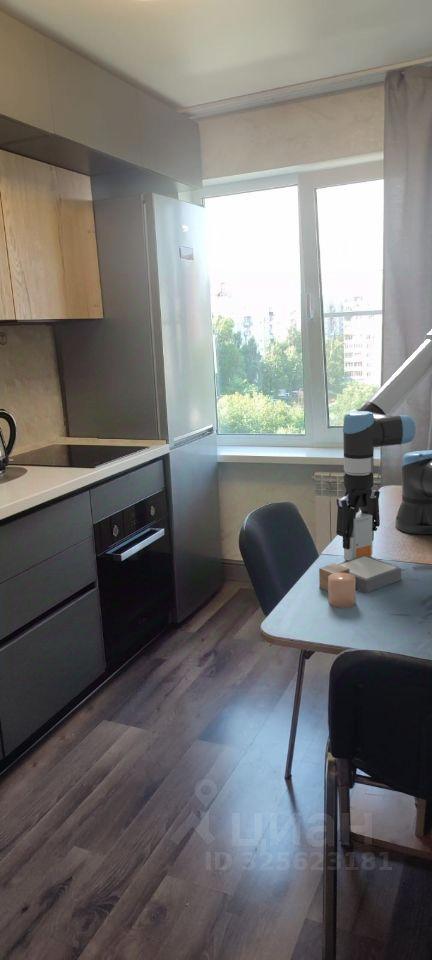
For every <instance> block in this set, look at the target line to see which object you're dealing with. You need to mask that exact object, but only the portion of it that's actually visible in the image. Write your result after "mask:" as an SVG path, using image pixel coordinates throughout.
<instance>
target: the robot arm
mask: <svg viewBox="0 0 432 960" xmlns="http://www.w3.org/2000/svg"><path fill="white" fill-rule="evenodd" d="M431 374H432V328H431V329H430V330H429V331H428V332H427V333H426V334H425V335H424V337H423V342H422V343H421V345H419V347H417V349H416V350H415V351H413V352H412V354H411V355H410V356H409V357H408V358H407V359H406V360H405V362H403V363H402V364H401V365H400V366H399V368H398V369H397V370H396V371H394V373H393V374H392V375H391V376H390V377H389V378H388V379H387V380H386V381H385V382H384V384H382V385H381V386H380V388H379V389H377V391H376V392H375V393H374V394H373V395H372V396H371V397H370V398H369V399H368V400H367V401H366V402H365V403H364V404H363V405H362V406H361V407H360V408H354V409H351V410H349V411H348V412H347V413H345V414H344V417H343V424H342V425H343V427H342V433H343V434H342V435H343V471H344V473H343V487H344V489H345V492H344V496H343V497H342V498H336V506H337V512H336V513H337V515H336V517H337V518H336V535H337V536H338V537H339V536H340V537H342V549H343V550H344V551H343V559H344V560H346V561H349V560H352V559H354V537H351V535H352V530H353V524H354V523H353V521H354V518H356V513H359V512H362V513H365V514H370V515H372V546H373V544H374V543H373V542H374V538H375V537H374V536H375V535H374V533H375V532H377V531H378V528H379V527H380V523H381V522H380V521H381V520H380V504H379V503H380V501H379V498H380V494H381V492H380V490H376V489H372V488H373V486H374V473H373V471H374V469H375V468H374V466H375V465H374V452H375V450H374V449H376V448H381V447H389V446H401V445H404V444H408V443H411V442H413V440H414V438H415V436H416V432H417V431H416V429H417V428H416V427H417V426H416V424H415V423H416V422H415V421H414V419H413V418H412V417H411V416H410V415H408V414H397V415H393V414H394V413H395V412H396V411H397V410H398V409H399V408H400V407H401V406H402V405H403V404H404V403H405V401H406V400H408V399H409V397H410V396H411V395H412V394H414V392H415V391H416V390H417V389H418V388H419V387H420V386H421V385H422V384H423V382H425V380H426V379H427V378H428V377H429V376H430V375H431ZM394 525H395V528H396V529H398V530H399V531H402V532H404V533H408V534H414V535H432V449H428V450H427V449H426V450H416V451H409V452H407V453H405V454H404V455H403V457H402V464H401V503H400V505H399V508H398V511H397V513H396V517H395V524H394Z"/></svg>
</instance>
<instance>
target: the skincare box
mask: <svg viewBox="0 0 432 960" xmlns="http://www.w3.org/2000/svg"><path fill="white" fill-rule="evenodd" d="M353 523H354V524H353V530H352V535H351V537H354V559H355V558H358V557H361V556H364V555H365V556H368V557H371V558H373V557H372V555H373V545H372V515H370V514H365V513H362V512H361V511H358V512H357V513H356V518H354V521H353Z"/></svg>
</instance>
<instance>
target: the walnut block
mask: <svg viewBox="0 0 432 960" xmlns="http://www.w3.org/2000/svg"><path fill="white" fill-rule="evenodd" d="M338 564H339V563H330V564H328V565H325V566H321V567H319V568H318V571H319V572H318V576H319V578H318V579H319V581H318V582H319V583H318V585H319V586H318V587H319V588H320V589H322V590H325V592H326V591H327V592H328V576H329V575H331V574H333V573H349V574H350V569H349V568H346V567H343V566H341V565H338Z"/></svg>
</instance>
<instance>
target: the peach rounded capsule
mask: <svg viewBox="0 0 432 960" xmlns="http://www.w3.org/2000/svg"><path fill="white" fill-rule="evenodd" d="M327 593H328V596H327V597H328V601H327V602H328V604H329V605H330V606H331V607H334V608H339V609H346V608H351V607H353V606H355V605H356V588H355V576H354V575H352V574H349V573H333V574H331V575H329V576H328V591H327Z"/></svg>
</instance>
